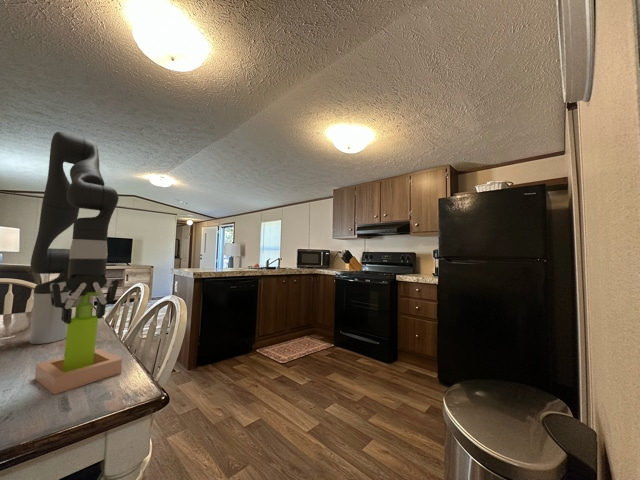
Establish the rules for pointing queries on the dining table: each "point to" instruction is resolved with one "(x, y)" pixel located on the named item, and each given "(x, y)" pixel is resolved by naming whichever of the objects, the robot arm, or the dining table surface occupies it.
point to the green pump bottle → (81, 336)
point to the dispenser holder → (76, 372)
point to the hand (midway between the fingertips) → (83, 320)
